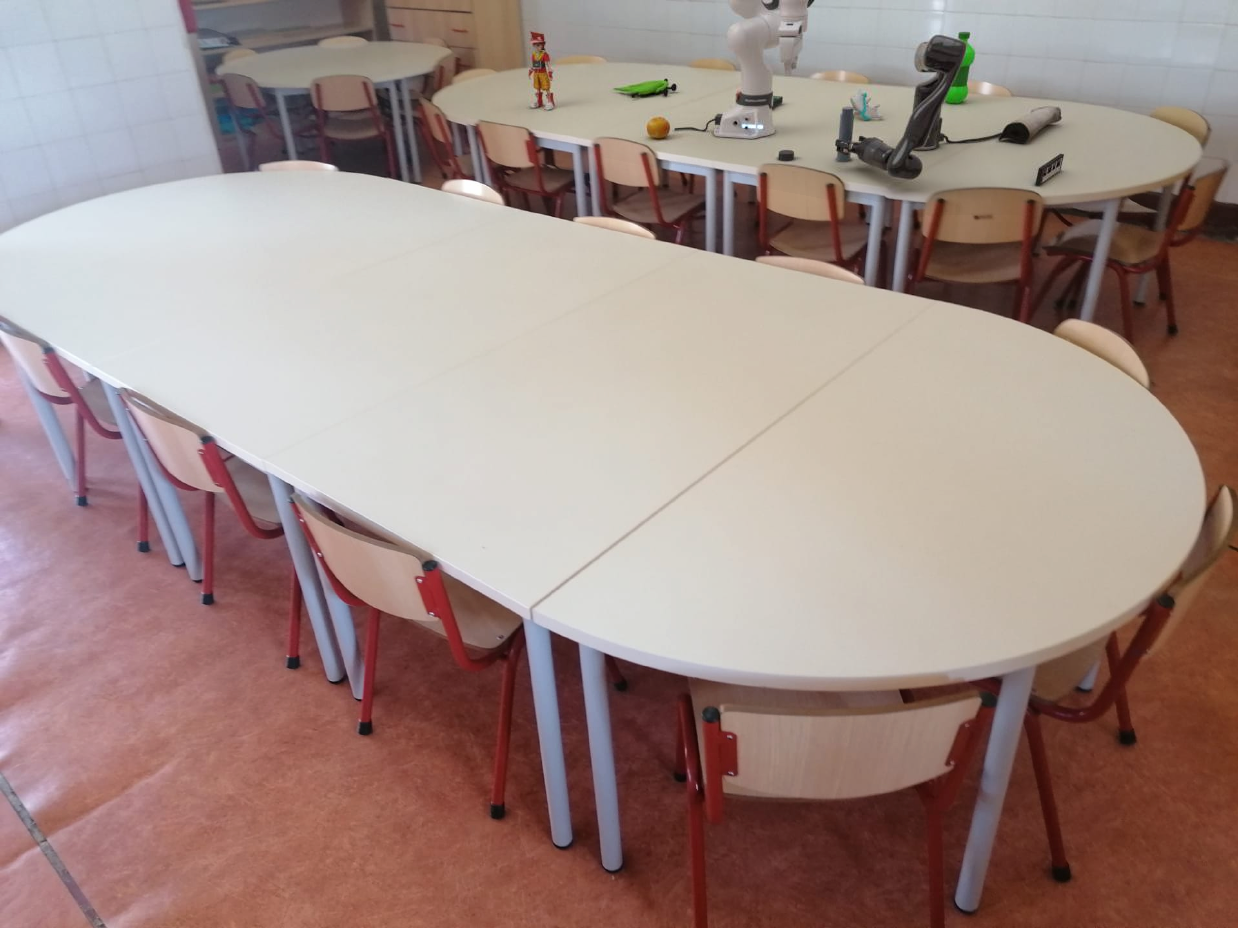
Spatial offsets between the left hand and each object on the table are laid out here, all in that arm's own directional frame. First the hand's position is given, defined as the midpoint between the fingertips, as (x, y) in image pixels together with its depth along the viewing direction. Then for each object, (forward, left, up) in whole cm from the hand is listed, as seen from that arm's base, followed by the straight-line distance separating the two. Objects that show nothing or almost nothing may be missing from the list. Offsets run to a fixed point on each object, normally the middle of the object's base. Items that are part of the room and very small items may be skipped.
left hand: (790, 72), depth 289 cm
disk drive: (-15, +71, -28) cm, 77 cm away
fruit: (-49, +24, -28) cm, 61 cm away
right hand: (+20, -2, -21) cm, 29 cm away
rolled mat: (+82, +36, -28) cm, 93 cm away
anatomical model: (+25, +57, -28) cm, 68 cm away
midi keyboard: (+81, -15, -28) cm, 87 cm away
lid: (0, 0, -26) cm, 26 cm away
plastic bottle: (+59, +80, -28) cm, 103 cm away
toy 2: (-72, +96, -28) cm, 123 cm away
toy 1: (-109, +68, -28) cm, 131 cm away
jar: (+19, 0, -28) cm, 34 cm away
